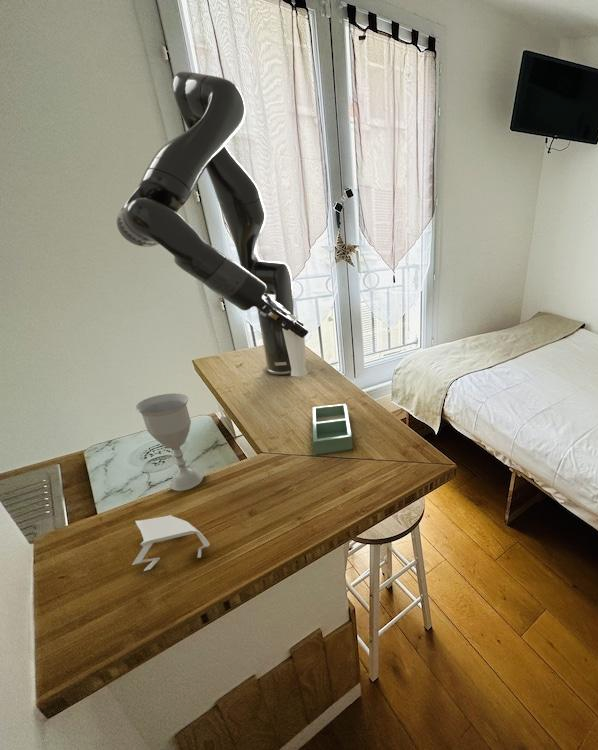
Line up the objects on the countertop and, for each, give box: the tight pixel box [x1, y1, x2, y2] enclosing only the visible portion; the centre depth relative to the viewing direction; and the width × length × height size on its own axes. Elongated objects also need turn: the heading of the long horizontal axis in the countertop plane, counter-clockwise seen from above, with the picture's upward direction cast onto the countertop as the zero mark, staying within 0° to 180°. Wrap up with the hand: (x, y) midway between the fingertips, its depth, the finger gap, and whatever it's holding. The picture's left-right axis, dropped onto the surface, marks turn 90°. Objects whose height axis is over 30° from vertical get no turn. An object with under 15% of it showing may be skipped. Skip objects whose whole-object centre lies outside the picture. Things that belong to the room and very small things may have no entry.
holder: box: [311, 403, 354, 456], centre depth 96 cm, size 15×8×4 cm, turn 23°
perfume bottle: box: [283, 314, 309, 378], centre depth 96 cm, size 5×4×15 cm
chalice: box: [135, 393, 204, 492], centre depth 74 cm, size 7×7×18 cm
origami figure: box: [131, 514, 211, 572], centre depth 63 cm, size 12×8×5 cm
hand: (302, 330), depth 95 cm, fingers closed on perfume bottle, 4 cm apart
